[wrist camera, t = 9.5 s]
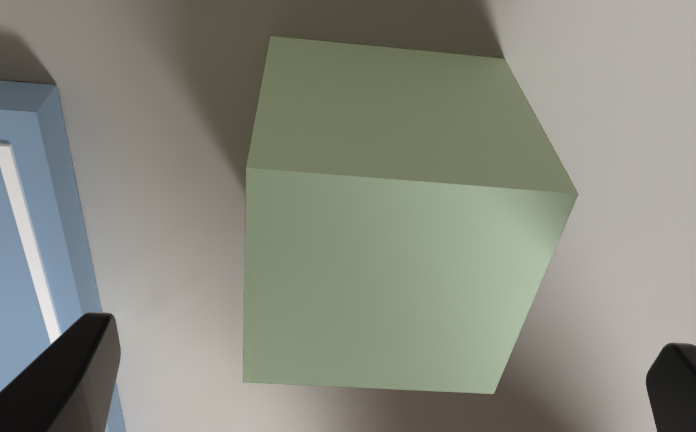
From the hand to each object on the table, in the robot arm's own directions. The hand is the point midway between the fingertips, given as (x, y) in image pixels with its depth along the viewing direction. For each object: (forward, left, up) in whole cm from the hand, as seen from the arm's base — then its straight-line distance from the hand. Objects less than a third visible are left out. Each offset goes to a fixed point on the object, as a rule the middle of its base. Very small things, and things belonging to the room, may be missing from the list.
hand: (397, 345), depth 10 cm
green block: (0, 0, -6) cm, 6 cm away
